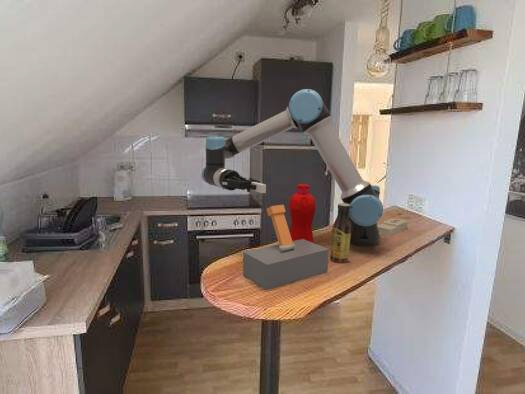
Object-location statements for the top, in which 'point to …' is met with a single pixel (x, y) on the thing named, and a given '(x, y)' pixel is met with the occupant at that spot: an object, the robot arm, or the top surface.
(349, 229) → the sauce bottle
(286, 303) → the top surface
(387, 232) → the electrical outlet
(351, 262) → the top surface
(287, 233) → the lever
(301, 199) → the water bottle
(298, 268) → the breaker box
